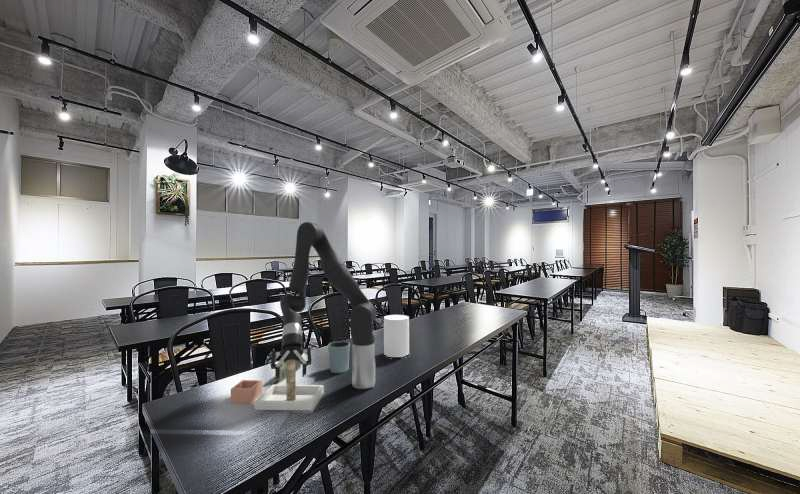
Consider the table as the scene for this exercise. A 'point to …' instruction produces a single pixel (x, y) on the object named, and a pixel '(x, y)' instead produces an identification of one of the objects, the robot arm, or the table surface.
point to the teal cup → (339, 356)
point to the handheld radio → (283, 371)
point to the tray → (277, 401)
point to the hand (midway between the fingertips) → (291, 377)
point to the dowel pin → (290, 380)
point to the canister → (396, 335)
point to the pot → (246, 391)
